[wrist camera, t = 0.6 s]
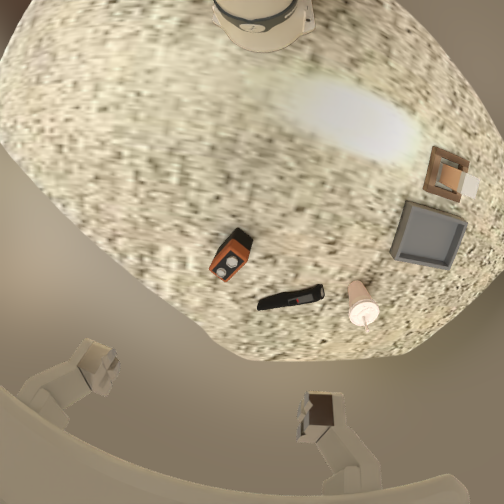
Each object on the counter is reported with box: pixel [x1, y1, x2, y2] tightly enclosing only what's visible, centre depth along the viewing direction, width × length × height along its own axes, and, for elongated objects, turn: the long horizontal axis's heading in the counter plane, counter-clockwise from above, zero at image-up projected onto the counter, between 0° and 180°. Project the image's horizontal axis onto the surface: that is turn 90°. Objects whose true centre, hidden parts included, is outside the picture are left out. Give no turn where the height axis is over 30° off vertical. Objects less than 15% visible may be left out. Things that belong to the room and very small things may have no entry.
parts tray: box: [390, 201, 468, 270], centre depth 49 cm, size 12×16×4 cm
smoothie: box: [348, 281, 379, 332], centre depth 52 cm, size 6×6×14 cm
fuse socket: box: [423, 146, 470, 203], centre depth 43 cm, size 9×9×2 cm
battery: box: [209, 228, 253, 282], centre depth 53 cm, size 4×7×10 cm, turn 140°
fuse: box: [436, 162, 480, 199], centre depth 39 cm, size 4×4×10 cm
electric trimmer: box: [257, 284, 325, 311], centre depth 61 cm, size 4×16×3 cm, turn 108°
